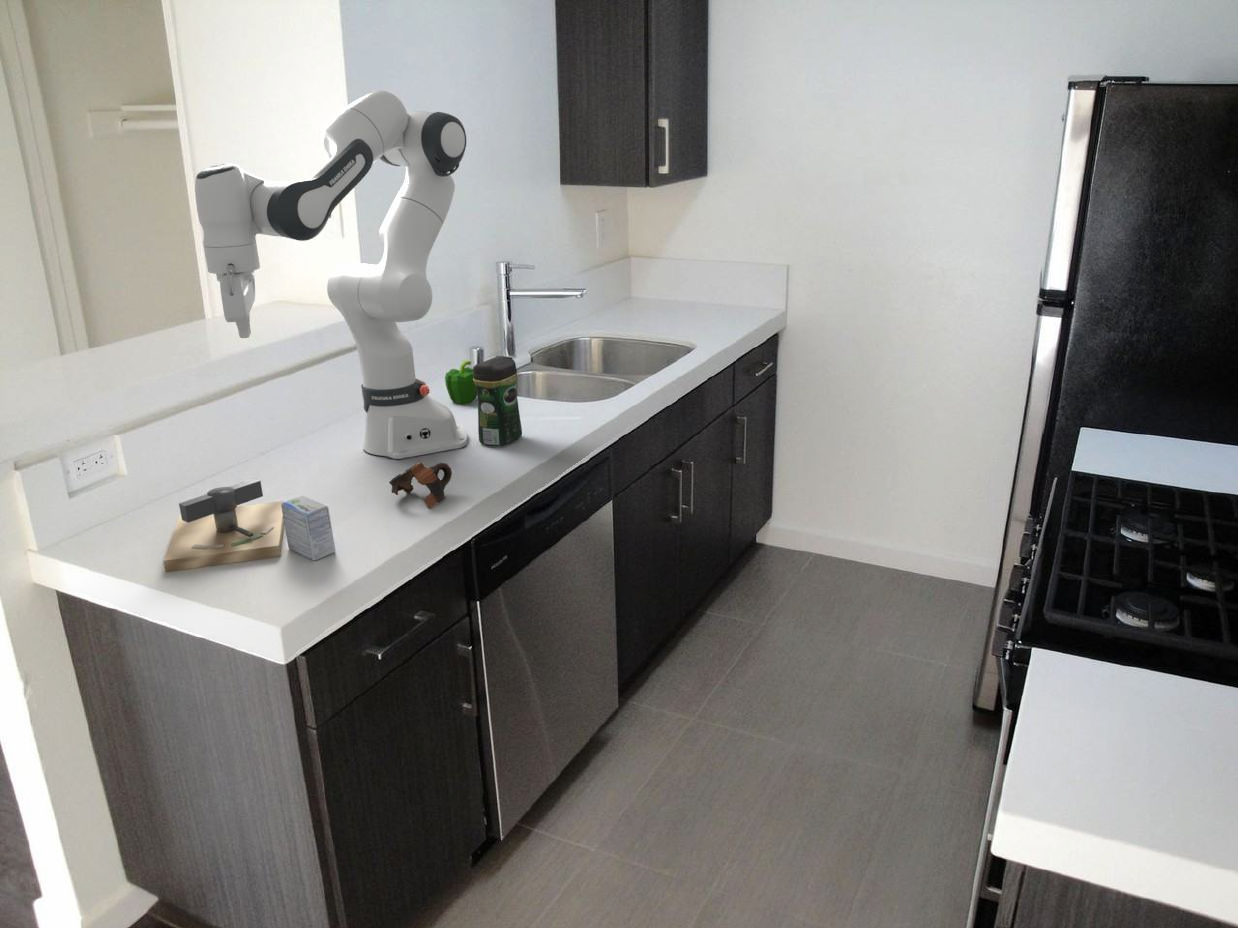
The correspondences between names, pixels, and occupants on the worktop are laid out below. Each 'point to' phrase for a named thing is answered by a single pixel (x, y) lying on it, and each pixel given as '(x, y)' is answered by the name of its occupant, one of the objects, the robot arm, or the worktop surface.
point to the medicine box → (308, 527)
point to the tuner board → (227, 539)
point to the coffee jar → (497, 401)
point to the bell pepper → (461, 384)
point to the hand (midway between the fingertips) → (245, 336)
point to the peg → (222, 505)
